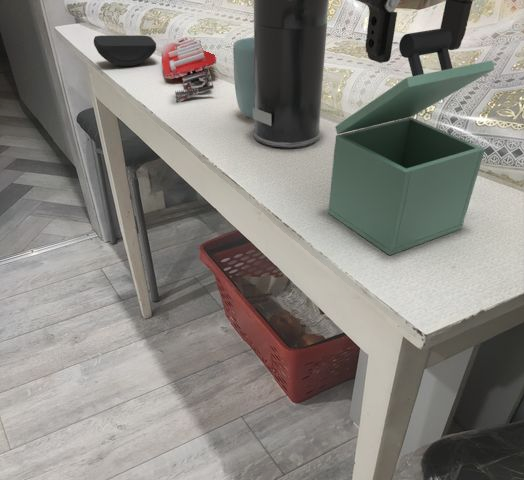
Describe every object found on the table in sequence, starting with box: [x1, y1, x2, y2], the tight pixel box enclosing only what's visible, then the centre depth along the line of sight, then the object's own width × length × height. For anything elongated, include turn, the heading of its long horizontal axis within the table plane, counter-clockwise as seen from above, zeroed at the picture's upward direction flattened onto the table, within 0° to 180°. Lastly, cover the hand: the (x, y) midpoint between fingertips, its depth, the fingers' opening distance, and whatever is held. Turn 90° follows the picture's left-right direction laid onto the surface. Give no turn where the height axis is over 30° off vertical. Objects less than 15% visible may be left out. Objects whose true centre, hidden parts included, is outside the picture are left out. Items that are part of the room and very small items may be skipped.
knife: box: [190, 68, 210, 88], centre depth 94 cm, size 17×2×5 cm
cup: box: [232, 36, 255, 120], centre depth 77 cm, size 8×8×10 cm
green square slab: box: [334, 27, 495, 135], centre depth 48 cm, size 11×10×5 cm
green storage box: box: [328, 117, 486, 256], centre depth 54 cm, size 10×10×9 cm
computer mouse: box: [93, 35, 157, 67], centre depth 101 cm, size 6×11×4 cm, turn 112°
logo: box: [161, 36, 218, 103], centre depth 93 cm, size 25×2×10 cm
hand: (414, 54), depth 47 cm, fingers open, 8 cm apart
